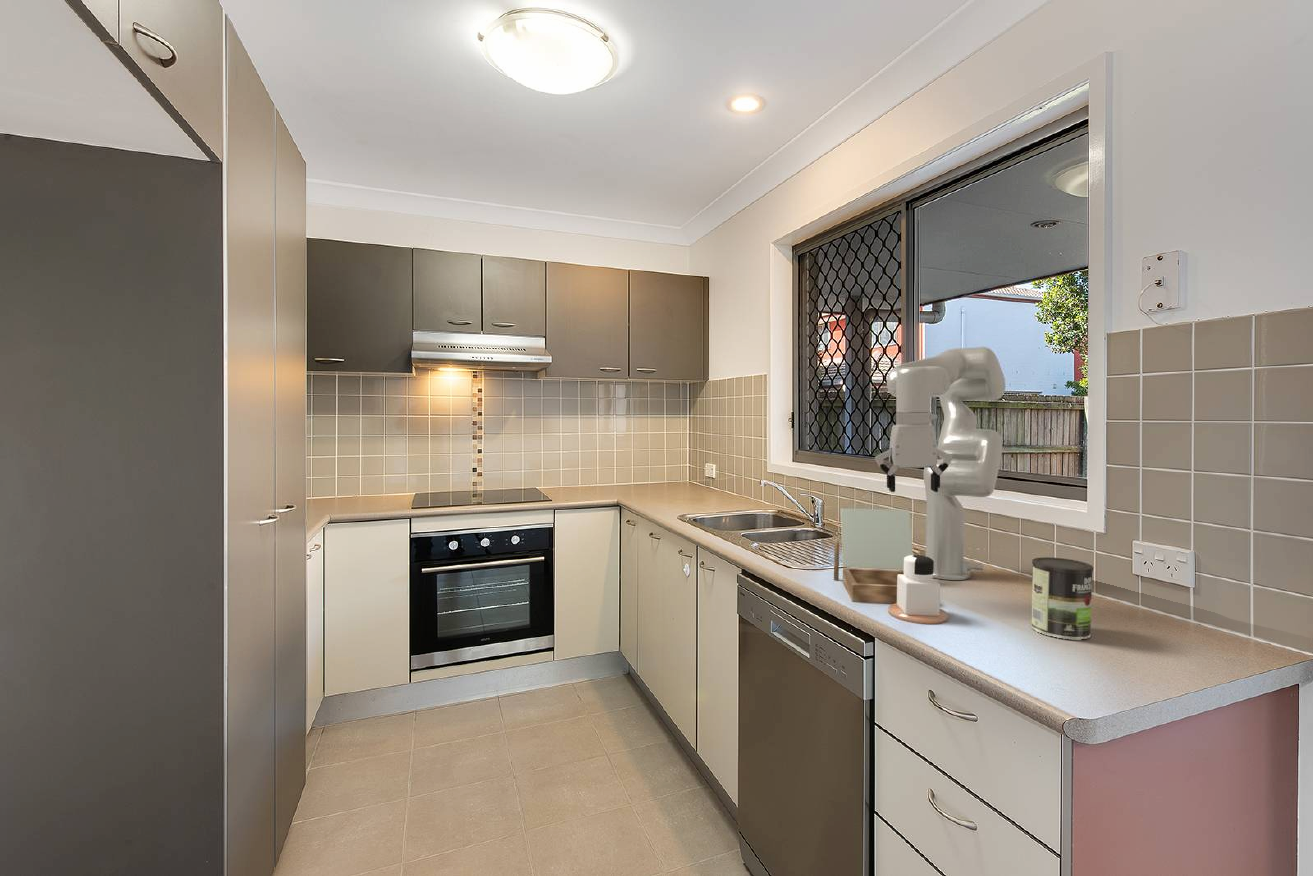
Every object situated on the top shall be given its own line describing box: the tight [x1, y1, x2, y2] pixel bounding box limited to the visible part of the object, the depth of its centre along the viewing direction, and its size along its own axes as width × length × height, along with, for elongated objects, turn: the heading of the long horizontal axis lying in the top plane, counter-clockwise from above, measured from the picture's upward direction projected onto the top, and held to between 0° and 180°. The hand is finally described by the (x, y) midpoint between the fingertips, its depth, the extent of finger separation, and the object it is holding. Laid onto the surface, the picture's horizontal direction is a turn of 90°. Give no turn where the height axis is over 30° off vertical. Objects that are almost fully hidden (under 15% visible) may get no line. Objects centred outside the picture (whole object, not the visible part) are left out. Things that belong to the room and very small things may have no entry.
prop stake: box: [833, 537, 840, 582], centre depth 161 cm, size 1×1×11 cm
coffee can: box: [1030, 556, 1094, 641], centre depth 123 cm, size 10×10×14 cm
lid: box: [839, 507, 914, 570], centre depth 160 cm, size 17×15×2 cm
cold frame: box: [842, 567, 904, 604], centre depth 149 cm, size 17×15×4 cm
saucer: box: [888, 603, 949, 625], centre depth 134 cm, size 12×12×1 cm
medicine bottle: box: [897, 554, 941, 616], centre depth 134 cm, size 7×7×12 cm
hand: (913, 491), depth 145 cm, fingers open, 9 cm apart
